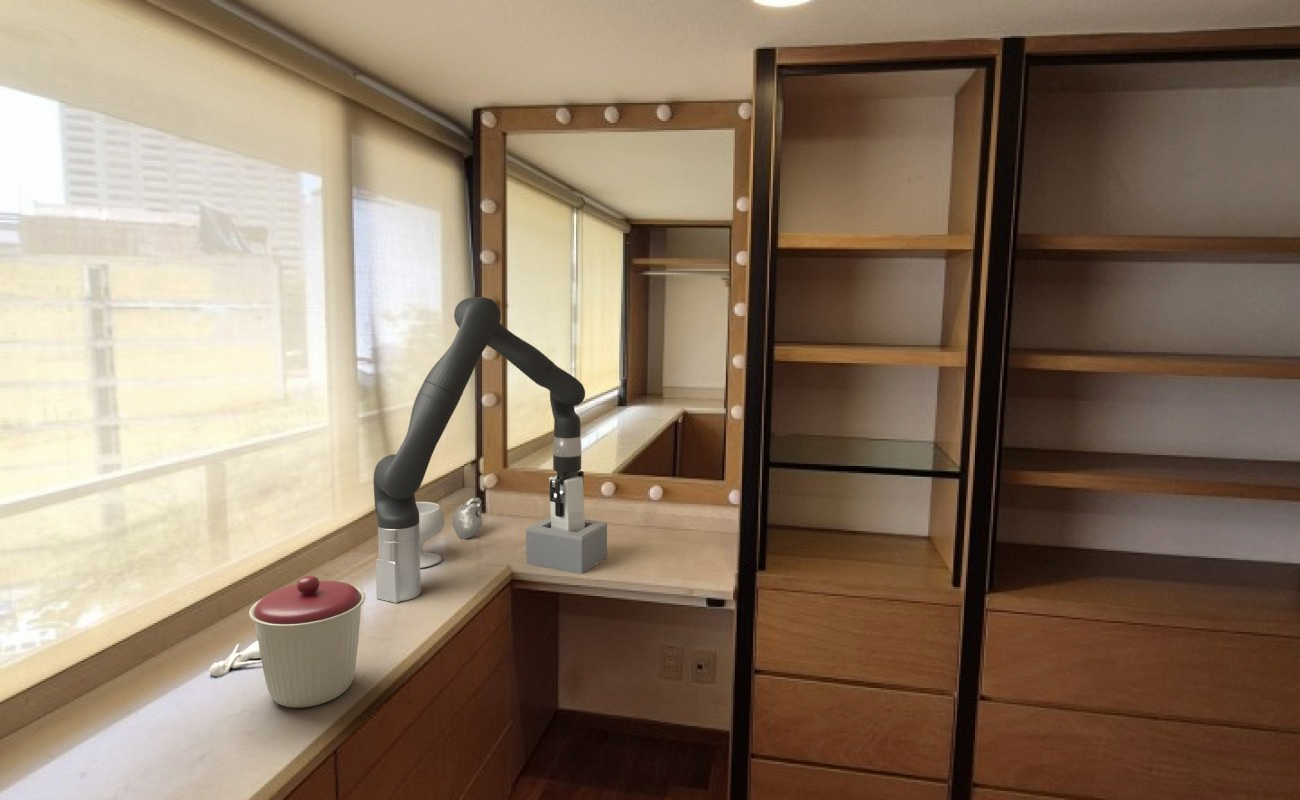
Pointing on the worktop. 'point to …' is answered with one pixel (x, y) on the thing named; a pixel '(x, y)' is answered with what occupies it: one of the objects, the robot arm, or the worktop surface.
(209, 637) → the worktop surface
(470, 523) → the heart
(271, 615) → the canister
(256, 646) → the woman figurine
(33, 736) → the worktop surface
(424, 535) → the chalice
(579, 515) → the skincare box
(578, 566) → the open gray box
